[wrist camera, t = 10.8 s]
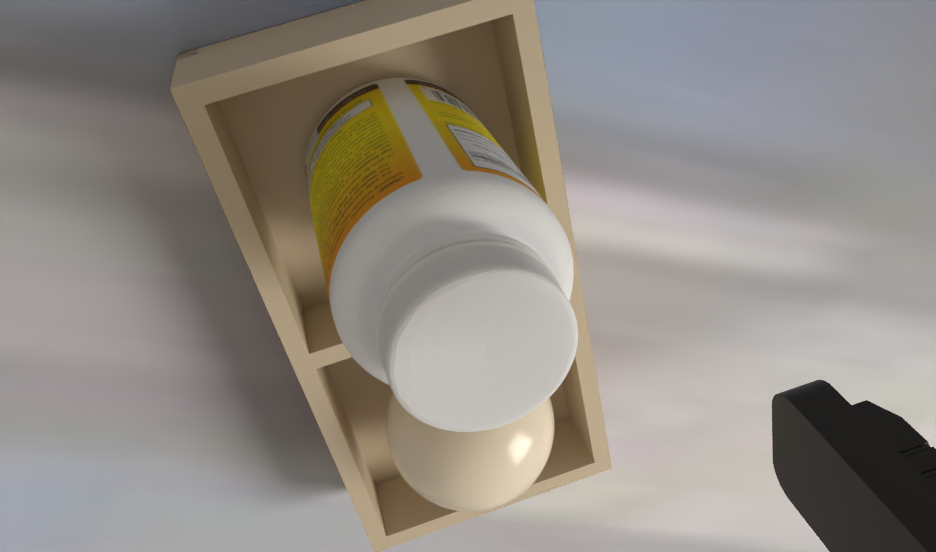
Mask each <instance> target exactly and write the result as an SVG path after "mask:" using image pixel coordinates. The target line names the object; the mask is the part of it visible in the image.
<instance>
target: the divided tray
mask: <svg viewBox="0 0 936 552" xmlns="http://www.w3.org/2000/svg"><path fill="white" fill-rule="evenodd" d="M388 78H413V79H420V80H424V81H428V82H431V83H434V84H436V85H439V86H441V87H443V88H445V89H447V90H448V91H450V92H452V93H453V94H455V95H456V96H457V97H458V98H460V99H461V100H462V101H463V102H464V103H465V104H466V105H467V106H468V107H469V108H470V109H471V111H472V112H473V113H474V114H475V115H476V117H477V118H478V119H479V120H480V122H481V123H482V124H483V125H484V126H485V127H486V129H487V130H488V131H489V133H490V134H491V135H492V136H493V138H494V139H495V140H496V141H497V143H498V144H499V145H500V146H501V147H502V149H503V150H504V151H505V152H506V154H507V155H508V156H509V157H510V159H511V160H512V161H513V162H514V164H515V165H516V166H517V167H518V169H519V170H520V171H521V172H522V174H523V175H524V176H525V177H526V179H527V180H528V181H529V182H530V184H531V185H532V186H533V187H534V188H535V189H536V191H537V192H538V194H539V195H540V196H541V197H542V199H543V200H544V201H545V202H546V203H547V205H548V206H549V207H550V209H551V210H552V211H553V213H554V214H555V216H556V217H557V219H558V221H559V222H560V224H561V226H562V227H563V229H564V231H565V233H566V236H567V238H568V241H569V244H570V247H571V252H572V258H573V270H574V277H573V287H572V293H571V297H570V304H571V306H572V308H573V310H574V313H575V316H576V320H577V327H578V345H577V349H576V354H575V358H574V360H573V363H572V365H571V367H570V370H569V372H568V373H567V375H566V377H565V379H564V380H563V382H562V383H561V385H560V386H559V387H558V388H557V390H556V391H555V392H554V393H553V394H552V395H551V396H550V400H551V403H552V408H553V413H554V439H553V444H552V449H551V452H550V455H549V458H548V460H547V462H546V465H545V467H544V468H543V470H542V472H541V473H540V475H539V476H538V478H537V479H536V480H535V481H534V483H533V484H532V485H531V486H530V487H529V488H528V489H527V490H526V491H525V492H524V493H522V494H521V495H520V496H518V497H517V498H515V499H514V500H512V501H510V502H508V503H506V504H504V505H502V506H499V507H496V508H493V509H489V510H485V511H478V512H462V511H456V510H451V509H446V508H443V507H440V506H438V505H436V504H434V503H432V502H430V501H428V500H426V499H425V498H423V497H422V496H421V495H419V494H418V493H417V492H415V491H414V490H413V489H412V488H411V487H410V486H409V485H408V484H407V482H406V481H405V480H404V479H403V477H402V476H401V475H400V473H399V472H398V470H397V468H396V466H395V464H394V462H393V460H392V457H391V455H390V452H389V448H388V445H387V438H386V412H387V408H388V404H389V400H390V397H391V394H392V390H391V388H390V385H388V384H386V383H384V382H382V381H380V380H379V379H377V378H375V377H374V376H372V375H371V374H370V373H368V372H367V371H366V370H365V369H363V368H362V367H361V366H360V365H359V364H358V363H357V362H356V361H355V360H354V359H353V357H352V356H351V355H350V353H349V352H348V351H347V349H346V348H345V346H344V344H343V343H342V341H341V339H340V337H339V334H338V332H337V329H336V326H335V323H334V319H333V316H332V312H331V307H330V302H329V297H328V292H327V287H326V282H325V277H324V273H323V268H322V263H321V258H320V253H319V248H318V244H317V239H316V234H315V229H314V224H313V220H312V214H311V210H310V204H309V199H308V194H307V189H306V181H305V159H306V153H307V148H308V145H309V141H310V139H311V136H312V134H313V132H314V130H315V128H316V126H317V124H318V123H319V121H320V120H321V118H322V117H323V115H324V114H325V113H326V112H327V111H328V110H329V109H330V108H331V107H332V106H333V105H334V104H335V103H336V102H337V101H338V100H339V99H341V98H342V97H343V96H345V95H346V94H348V93H349V92H351V91H353V90H354V89H356V88H358V87H360V86H363V85H365V84H368V83H371V82H374V81H378V80H382V79H388ZM170 91H171V93H172V96H173V98H174V100H175V102H176V105H177V107H178V109H179V111H180V114H181V116H182V118H183V120H184V123H185V125H186V127H187V129H188V132H189V134H190V136H191V138H192V141H193V143H194V145H195V147H196V150H197V152H198V154H199V157H200V159H201V161H202V163H203V166H204V168H205V170H206V172H207V175H208V177H209V179H210V181H211V184H212V186H213V188H214V190H215V193H216V195H217V197H218V199H219V202H220V204H221V206H222V208H223V211H224V213H225V215H226V218H227V220H228V222H229V224H230V227H231V229H232V231H233V233H234V236H235V238H236V240H237V242H238V245H239V247H240V249H241V251H242V254H243V256H244V258H245V260H246V263H247V265H248V267H249V269H250V272H251V274H252V276H253V279H254V281H255V283H256V285H257V288H258V290H259V292H260V294H261V297H262V299H263V301H264V303H265V306H266V308H267V310H268V312H269V315H270V317H271V319H272V321H273V324H274V326H275V328H276V330H277V333H278V335H279V337H280V339H281V342H282V344H283V346H284V349H285V351H286V353H287V355H288V358H289V360H290V362H291V364H292V367H293V369H294V371H295V373H296V376H297V378H298V380H299V382H300V385H301V387H302V389H303V391H304V394H305V396H306V398H307V400H308V403H309V405H310V407H311V410H312V412H313V414H314V416H315V419H316V421H317V423H318V425H319V428H320V430H321V432H322V434H323V437H324V439H325V441H326V443H327V446H328V448H329V450H330V452H331V455H332V457H333V459H334V461H335V464H336V466H337V468H338V471H339V473H340V475H341V477H342V480H343V482H344V484H345V486H346V489H347V491H348V493H349V495H350V498H351V500H352V502H353V504H354V507H355V509H356V511H357V513H358V516H359V518H360V520H361V522H362V525H363V527H364V529H365V532H366V534H367V536H368V538H369V541H370V543H371V545H372V547H373V550H374V552H379V551H381V550H384V549H387V548H390V547H393V546H395V545H398V544H401V543H404V542H407V541H409V540H412V539H415V538H418V537H421V536H423V535H426V534H429V533H432V532H435V531H437V530H440V529H443V528H446V527H449V526H451V525H454V524H457V523H460V522H463V521H465V520H468V519H471V518H474V517H477V516H479V515H482V514H485V513H488V512H491V511H493V510H496V509H499V508H502V507H505V506H507V505H510V504H513V503H516V502H519V501H521V500H524V499H527V498H530V497H533V496H535V495H538V494H541V493H544V492H547V491H549V490H552V489H555V488H558V487H561V486H563V485H566V484H569V483H572V482H575V481H577V480H580V479H583V478H586V477H589V476H591V475H594V474H597V473H600V472H603V471H605V470H608V469H611V468H612V467H611V461H610V455H609V449H608V443H607V437H606V431H605V425H604V419H603V413H602V407H601V401H600V395H599V389H598V383H597V377H596V371H595V365H594V359H593V353H592V347H591V341H590V335H589V329H588V323H587V317H586V311H585V305H584V299H583V293H582V287H581V281H580V275H579V269H578V263H577V257H576V251H575V245H574V239H573V233H572V226H571V220H570V214H569V208H568V202H567V196H566V190H565V184H564V178H563V172H562V166H561V160H560V154H559V148H558V142H557V136H556V130H555V124H554V118H553V112H552V106H551V100H550V94H549V88H548V82H547V76H546V70H545V64H544V58H543V52H542V46H541V40H540V34H539V28H538V22H537V16H536V10H535V4H534V0H364V1H361V2H357V3H354V4H350V5H347V6H343V7H340V8H336V9H333V10H329V11H326V12H323V13H319V14H316V15H312V16H309V17H305V18H302V19H298V20H295V21H291V22H288V23H284V24H281V25H277V26H274V27H271V28H267V29H264V30H260V31H257V32H253V33H250V34H246V35H243V36H239V37H236V38H232V39H229V40H225V41H222V42H219V43H215V44H212V45H208V46H205V47H201V48H198V49H194V50H191V51H187V52H184V53H180V54H178V56H177V60H176V64H175V69H174V73H173V77H172V81H171V85H170Z"/></svg>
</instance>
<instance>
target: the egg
mask: <svg viewBox="0 0 936 552" xmlns="http://www.w3.org/2000/svg"><path fill="white" fill-rule="evenodd" d="M386 438H387V445H388V448H389V452H390V455H391V457H392V460H393V462H394V464H395V466H396V468H397V470H398V472H399V473H400V475H401V476H402V477H403V479H404V480H405V481H406V482H407V484H408V485H409V486H410V487H411V488H412V489H413V490H414V491H415V492H417V493H418V494H419V495H421V496H422V497H423V498H425V499H426V500H428V501H430V502H432V503H434V504H436V505H438V506H440V507H443V508H446V509H451V510H456V511H462V512H478V511H485V510H489V509H493V508H496V507H499V506H502V505H504V504H506V503H508V502H510V501H512V500H514V499H515V498H517V497H518V496H520V495H521V494H522V493H524V492H525V491H526V490H527V489H528V488H529V487H530V486H531V485H532V484H533V483H534V481H535V480H536V479H537V478H538V476H539V475H540V473H541V472H542V470H543V468H544V467H545V465H546V462H547V460H548V458H549V455H550V452H551V449H552V444H553V439H554V413H553V408H552V403H551V400H550V397H549V398H548V399H547V400H546V401H545V402H544V403H543V404H541V405H540V406H539V407H538V408H536V409H535V410H533V411H532V412H530V413H529V414H527V415H525V416H524V417H522V418H520V419H518V420H516V421H514V422H511V423H509V424H506V425H504V426H501V427H497V428H493V429H490V430H483V431H476V432H455V431H448V430H443V429H439V428H435V427H432V426H430V425H427V424H425V423H423V422H421V421H420V420H418V419H416V418H415V417H414V416H412V415H411V414H410V413H408V412H407V411H406V410H405V409H404V408H403V407H402V405H401V404H400V403H399V402H398V400H397V399H396V397H395V396H394V394H393V392H392V394H391V397H390V400H389V404H388V408H387V412H386Z"/></svg>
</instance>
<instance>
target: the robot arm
mask: <svg viewBox="0 0 936 552" xmlns="http://www.w3.org/2000/svg"><path fill="white" fill-rule="evenodd" d="M772 436H773V464H774V469H775V472H776V475H777V478H778V480H779V483H780V485H781V487H782V489H783V491H784V492H785V494H786V496H787V497H788V498H789V500H790V501H791V503H792V504H793V505H794V506H795V508H796V509H797V510H798V511H799V513H800V514H801V515H802V517H803V518H804V519H805V520H806V522H807V523H808V524H809V526H810V527H811V528H812V529H813V531H814V532H815V533H816V535H817V536H818V537H819V538H820V540H821V541H822V542H823V543H824V545H825V546H826V547H827V549H828V550H829V551H830V552H936V449H935V448H934V447H932V448H931V447H930V446H929V444H928V441H926V440H925V439H924V438H923V437H922V436H921V435H920V434H919V433H918V432H917V431H916V430H915V429H914V428H912V427H911V426H910V425H909V424H908V423H907V422H906V421H905V420H904V419H903V418H902V417H900V416H898V415H896V414H894V413H892V412H890V411H888V410H885V409H883V408H881V407H879V406H877V405H875V404H873V403H871V402H869V401H867V400H866V401H863V402H860V403H857V404H854V405H851V404H849V403H848V402H847V401H846V400H845V399H844V398H843V397H842V396H841V395H840V394H839V393H838V392H837V391H836V390H835V389H834V388H833V387H832V386H831V385H830V384H829V383H827V382H826V381H823V380H816V381H813V382H811V383H808V384H805V385H802V386H799V387H796V388H793V389H790V390H787V391H785V392H782V393H779V394H776V395H775V396H774V397H773V400H772Z"/></svg>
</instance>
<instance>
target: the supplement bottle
mask: <svg viewBox="0 0 936 552" xmlns="http://www.w3.org/2000/svg"><path fill="white" fill-rule="evenodd" d="M305 181H306V189H307V194H308V199H309V204H310V210H311V214H312V220H313V224H314V229H315V234H316V239H317V244H318V248H319V253H320V258H321V263H322V268H323V273H324V277H325V282H326V287H327V292H328V297H329V302H330V307H331V312H332V316H333V319H334V323H335V326H336V329H337V332H338V334H339V337H340V339H341V341H342V343H343V344H344V346H345V348H346V349H347V351H348V352H349V353H350V355H351V356H352V357H353V359H354V360H355V361H356V362H357V363H358V364H359V365H360V366H361V367H362V368H363V369H365V370H366V371H367V372H368V373H370V374H371V375H372V376H374V377H375V378H377V379H379V380H380V381H382V382H384V383H386V384H388V385H390V388H391V390H392V392H393V394H394V396H395V397H396V399H397V400H398V402H399V403H400V404H401V405H402V407H403V408H404V409H405V410H406V411H407V412H408V413H410V414H411V415H412V416H414V417H415V418H416V419H418V420H420V421H421V422H423V423H425V424H427V425H430V426H432V427H435V428H439V429H443V430H448V431H455V432H476V431H483V430H490V429H493V428H497V427H501V426H504V425H506V424H509V423H511V422H514V421H516V420H518V419H520V418H522V417H524V416H525V415H527V414H529V413H530V412H532V411H533V410H535V409H536V408H538V407H539V406H540V405H541V404H543V403H544V402H545V401H546V400H547V399H548V398H549V397H550V396H551V395H552V394H553V393H554V392H555V391H556V390H557V388H558V387H559V386H560V385H561V383H562V382H563V380H564V379H565V377H566V375H567V373H568V372H569V370H570V367H571V365H572V363H573V360H574V358H575V354H576V349H577V345H578V327H577V320H576V316H575V313H574V310H573V308H572V306H571V304H570V297H571V293H572V287H573V277H574V270H573V258H572V252H571V247H570V244H569V241H568V238H567V236H566V233H565V231H564V229H563V227H562V226H561V224H560V222H559V221H558V219H557V217H556V216H555V214H554V213H553V211H552V210H551V209H550V207H549V206H548V205H547V203H546V202H545V201H544V200H543V199H542V197H541V196H540V195H539V194H538V192H537V191H536V189H535V188H534V187H533V186H532V185H531V184H530V182H529V181H528V180H527V179H526V177H525V176H524V175H523V174H522V172H521V171H520V170H519V169H518V167H517V166H516V165H515V164H514V162H513V161H512V160H511V159H510V157H509V156H508V155H507V154H506V152H505V151H504V150H503V149H502V147H501V146H500V145H499V144H498V143H497V141H496V140H495V139H494V138H493V136H492V135H491V134H490V133H489V131H488V130H487V129H486V127H485V126H484V125H483V124H482V123H481V122H480V120H479V119H478V118H477V117H476V115H475V114H474V113H473V112H472V111H471V109H470V108H469V107H468V106H467V105H466V104H465V103H464V102H463V101H462V100H461V99H460V98H458V97H457V96H456V95H455V94H453V93H452V92H450V91H448V90H447V89H445V88H443V87H441V86H439V85H436V84H434V83H431V82H428V81H424V80H420V79H413V78H388V79H382V80H378V81H374V82H371V83H368V84H365V85H363V86H360V87H358V88H356V89H354V90H353V91H351V92H349V93H348V94H346V95H345V96H343V97H342V98H341V99H339V100H338V101H337V102H336V103H335V104H334V105H333V106H332V107H331V108H330V109H329V110H328V111H327V112H326V113H325V114H324V115H323V117H322V118H321V120H320V121H319V123H318V124H317V126H316V128H315V130H314V132H313V134H312V136H311V139H310V141H309V145H308V148H307V153H306V159H305Z"/></svg>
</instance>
